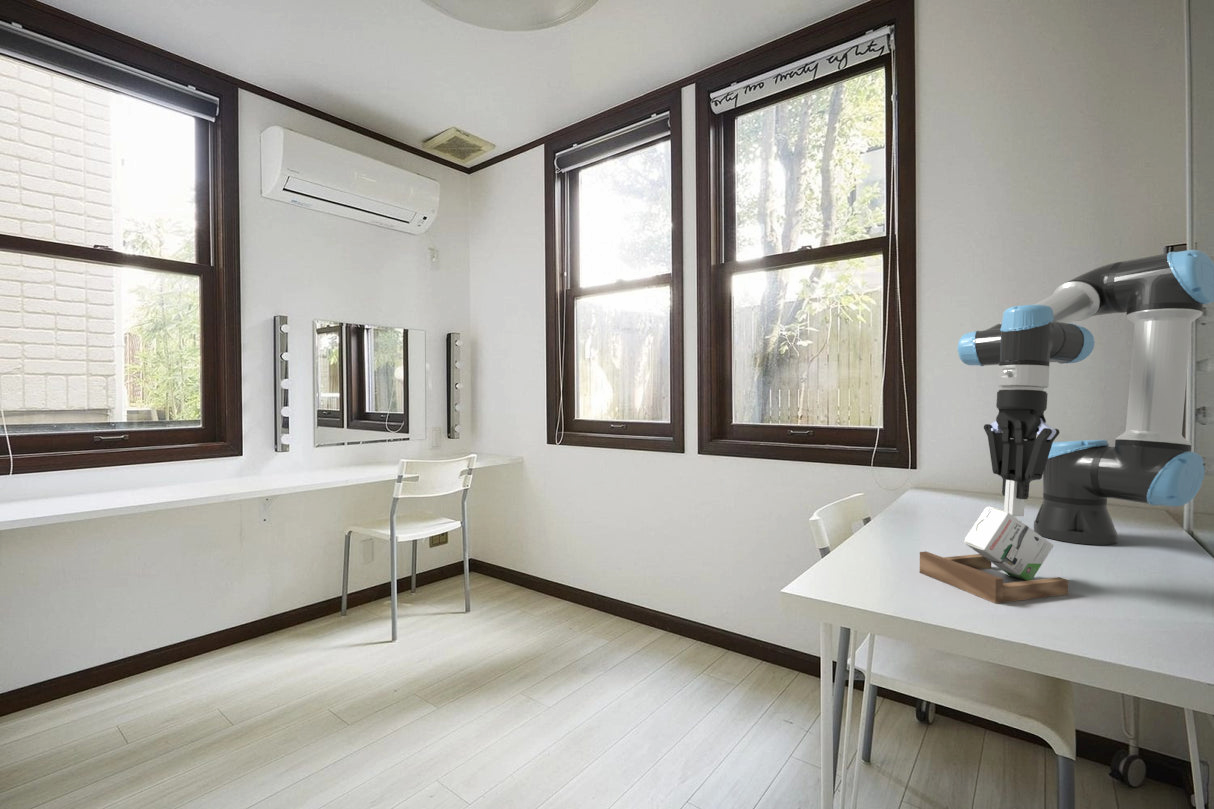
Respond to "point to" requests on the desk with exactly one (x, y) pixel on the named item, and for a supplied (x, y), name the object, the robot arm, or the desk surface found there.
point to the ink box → (1008, 543)
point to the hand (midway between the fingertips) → (1013, 515)
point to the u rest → (987, 579)
